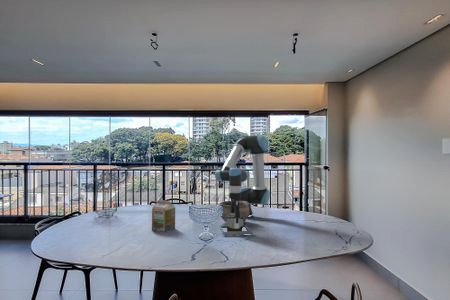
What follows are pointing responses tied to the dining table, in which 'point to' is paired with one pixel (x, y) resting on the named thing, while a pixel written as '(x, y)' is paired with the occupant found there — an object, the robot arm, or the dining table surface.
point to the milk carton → (163, 216)
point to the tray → (235, 231)
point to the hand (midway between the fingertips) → (234, 225)
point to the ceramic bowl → (242, 208)
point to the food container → (233, 223)
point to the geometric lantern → (105, 193)
